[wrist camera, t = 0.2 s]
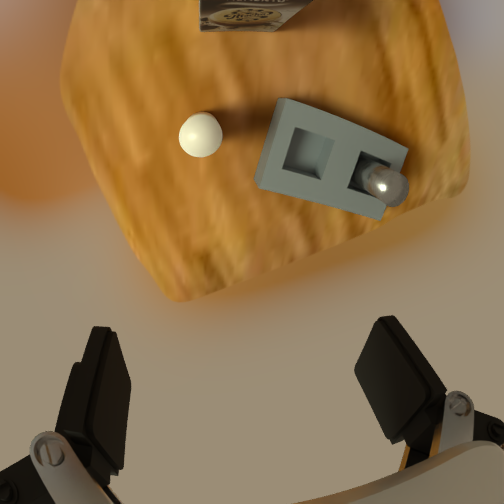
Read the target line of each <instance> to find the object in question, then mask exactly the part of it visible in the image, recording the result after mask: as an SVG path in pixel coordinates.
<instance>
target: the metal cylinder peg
mask: <svg viewBox="0 0 504 504" xmlns="http://www.w3.org/2000/svg"><path fill="white" fill-rule="evenodd" d="M350 180H351V181H352V182H354V183H355V184H357V185H358V186H360V187H361V188H363V189H364V190H366V191H367V192H369V193H370V194H372V195H373V196H375V197H376V198H377V199H379V200H380V201H382V202H383V203H385V204H386V205H387V206H390V207H395V206H398V205H400V204H401V203H402V202H403V201H404V200H405V199H406V197H407V195H408V192H409V183H408V180H407V179H406V177H405V176H404V175H402V174H400V173H398V172H396V171H394V170H392V169H390V168H388V167H386V166H384V165H382V164H380V163H378V162H376V161H374V160H372V159H369V158H367V157H365V156H362V155H359V157H358V160H357V163H356V165H355V168H354V171H353V174H352V176H351V179H350Z"/></svg>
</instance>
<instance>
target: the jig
mask: <svg viewBox="0 0 504 504" xmlns="http://www.w3.org/2000/svg"><path fill="white" fill-rule="evenodd" d="M407 152H408V148H406V147H404V146H402V145H400V144H398V143H396V142H394V141H392V140H390V139H388V138H386V137H384V136H381V135H379V134H377V133H375V132H373V131H371V130H368V129H366V128H364V127H362V126H359V125H357V124H355V123H352V122H350V121H348V120H345V119H343V118H340V117H338V116H335V115H333V114H330V113H327V112H325V111H322V110H319V109H317V108H314V107H311V106H308V105H306V104H303V103H300V102H297V101H294V100H291V99H288V98H278V101H277V104H276V107H275V110H274V113H273V117H272V120H271V123H270V127H269V130H268V133H267V136H266V140H265V143H264V146H263V150H262V153H261V156H260V160H259V163H258V166H257V170H256V173H255V176H254V181H255V182H256V184H257V186H258V187H259V188H260V189H264V190H268V191H273V192H277V193H281V194H285V195H289V196H293V197H297V198H301V199H305V200H309V201H312V202H316V203H320V204H324V205H327V206H331V207H335V208H338V209H342V210H345V211H349V212H352V213H356V214H359V215H363V216H366V217H370V218H373V219H376V220H379V221H380V220H381V218H382V216H383V213H384V211H385V209H386V206H387V205H386V204H385V203H383V202H382V201H380V200H379V199H377V198H376V197H375V196H373V195H372V194H370V193H369V192H367V191H366V190H364V189H363V188H361V187H360V186H358V185H357V184H355V183H354V182H352V181H351V180H350V179H351V176H352V174H353V171H354V168H355V165H356V163H357V160H358V157H359V155H362V156H365V157H367V158H369V159H372V160H374V161H376V162H378V163H380V164H382V165H384V166H386V167H388V168H390V169H392V170H394V171H396V172H398V173H400V171H401V168H402V165H403V163H404V160H405V157H406V154H407Z"/></svg>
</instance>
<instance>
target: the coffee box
mask: <svg viewBox="0 0 504 504" xmlns="http://www.w3.org/2000/svg"><path fill="white" fill-rule="evenodd" d="M312 1H313V0H199V29H200V31H201V32H211V31H263V32H274V31H275V30H277V29H278V28H279V27H280V26H281V25H283V24H284V23H285V22H286V21H287V20H288V19H290V18H291V17H292V16H293V15H295V14H296V13H297V12H299V11H300V10H301V9H302V8H304V7H305V6H306V5H308V4H309V3H310V2H312Z"/></svg>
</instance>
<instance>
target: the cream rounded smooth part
mask: <svg viewBox="0 0 504 504" xmlns="http://www.w3.org/2000/svg"><path fill="white" fill-rule="evenodd" d="M179 141H180V144H181V147H182V148H183V149H184V151H185V152H187V153H188V154H190V155H192V156H195V157H206V156H209V155H211V154H212V153H214V152H215V151H216V150H217V149H218V148H219V146H220V144H221V142H222V130H221V127H220V125H219V123H218V122H217V120H216V118H215V117H214V116H213V115H212V114H210V113H208V112H197V113H195V114H193V115H191V116H190V117H189V118H188V120H187V121H186V122H185V123H184V124H183V126H182V127H181V129H180V133H179Z"/></svg>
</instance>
